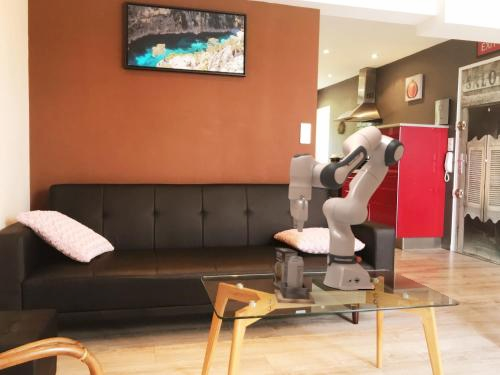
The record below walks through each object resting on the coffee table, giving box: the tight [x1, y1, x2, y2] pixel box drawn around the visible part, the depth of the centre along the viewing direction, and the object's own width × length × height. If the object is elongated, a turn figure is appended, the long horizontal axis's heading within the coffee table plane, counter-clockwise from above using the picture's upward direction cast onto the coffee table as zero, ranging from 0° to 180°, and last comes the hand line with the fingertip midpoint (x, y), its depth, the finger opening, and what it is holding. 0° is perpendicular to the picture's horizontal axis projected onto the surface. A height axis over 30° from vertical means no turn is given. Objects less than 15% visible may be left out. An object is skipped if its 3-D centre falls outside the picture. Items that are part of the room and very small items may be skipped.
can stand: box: [274, 281, 316, 305], centre depth 170 cm, size 14×14×5 cm
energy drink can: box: [287, 255, 305, 288], centre depth 169 cm, size 6×6×15 cm
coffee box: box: [272, 247, 298, 289], centre depth 185 cm, size 9×6×16 cm
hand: (298, 230), depth 169 cm, fingers open, 8 cm apart
